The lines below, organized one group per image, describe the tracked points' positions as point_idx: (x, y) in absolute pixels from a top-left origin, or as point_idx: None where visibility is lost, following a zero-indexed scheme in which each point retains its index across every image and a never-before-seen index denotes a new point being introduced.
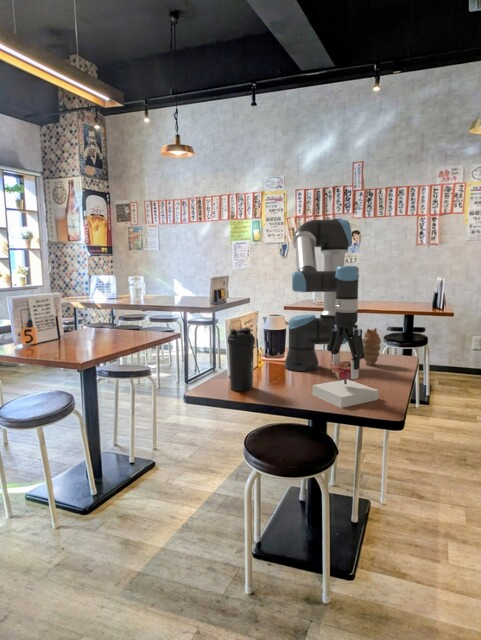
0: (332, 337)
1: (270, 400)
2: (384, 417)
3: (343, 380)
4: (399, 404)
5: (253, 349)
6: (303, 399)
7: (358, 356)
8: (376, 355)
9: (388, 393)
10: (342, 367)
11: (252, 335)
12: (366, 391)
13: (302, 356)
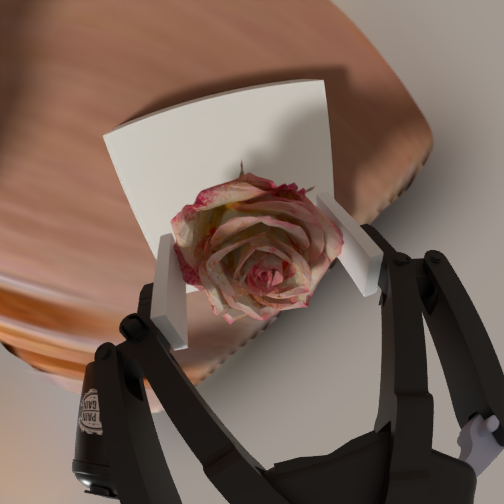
0: (167, 467)
1: (199, 351)
2: (412, 156)
3: (119, 163)
4: (353, 35)
5: (100, 447)
6: (206, 296)
7: (433, 296)
8: None
9: None
10: (308, 294)
11: (107, 483)
12: (320, 138)
13: None
